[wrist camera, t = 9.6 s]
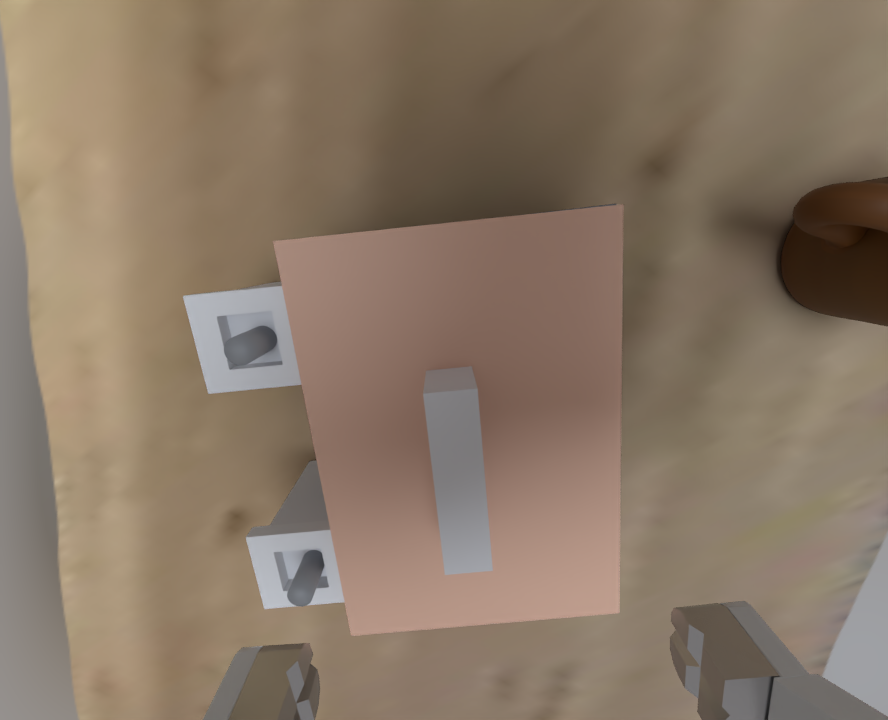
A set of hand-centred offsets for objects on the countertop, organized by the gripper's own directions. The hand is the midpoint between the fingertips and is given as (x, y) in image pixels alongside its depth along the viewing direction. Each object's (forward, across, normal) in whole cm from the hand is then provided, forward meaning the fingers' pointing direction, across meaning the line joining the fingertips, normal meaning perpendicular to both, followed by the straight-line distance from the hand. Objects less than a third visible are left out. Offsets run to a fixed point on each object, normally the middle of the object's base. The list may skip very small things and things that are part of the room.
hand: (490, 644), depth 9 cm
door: (+11, +2, +1) cm, 11 cm away
